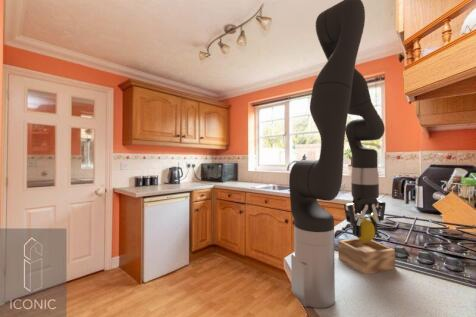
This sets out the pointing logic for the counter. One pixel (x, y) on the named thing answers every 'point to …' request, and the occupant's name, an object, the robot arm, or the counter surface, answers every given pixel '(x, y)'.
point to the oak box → (366, 255)
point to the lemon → (366, 230)
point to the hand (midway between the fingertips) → (365, 235)
